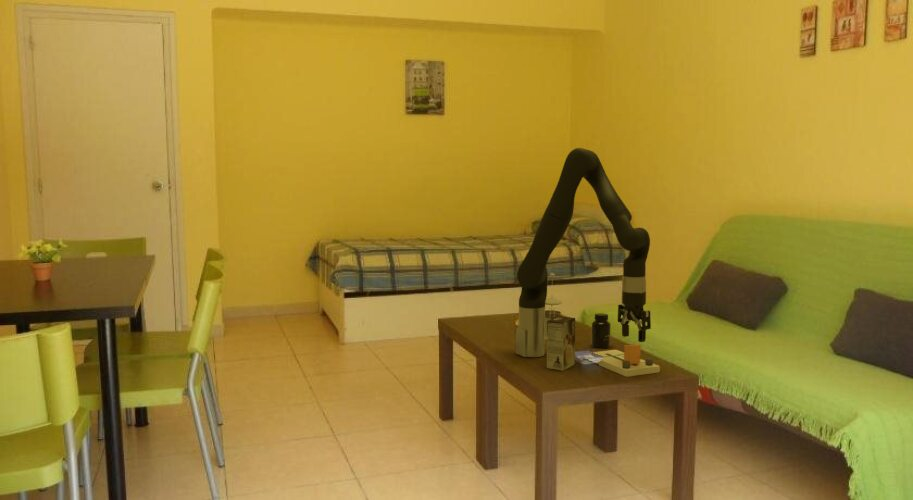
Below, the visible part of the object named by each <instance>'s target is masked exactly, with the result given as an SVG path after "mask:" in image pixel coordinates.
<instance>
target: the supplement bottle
mask: <svg viewBox="0 0 913 500" xmlns="http://www.w3.org/2000/svg"><path fill="white" fill-rule="evenodd" d="M608 320H609V314H607V313H603V312H602V313H601V312H600V313H599V312H598V313H597V312H596V313H594V320H593V321H592V323H591V336H590V337H591V338H590V339H591V342H590V343H591V347H592V348H596V349H607V348H609V347H610V346H611V323H610V322H609V321H608Z"/></svg>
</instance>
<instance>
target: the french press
mask: <svg viewBox="0 0 913 500" xmlns="http://www.w3.org/2000/svg"><path fill="white" fill-rule="evenodd" d="M549 276H550V277H551V284H553V283H554V281H553V279H554V277H555V273H553V272H550V273H549ZM561 304H563V301H562V300H561V299H558V298H557V297H553V296H551V297H546V301H545V306H546V305H548V306H558V305H561ZM555 309H556V308H555V307H553V309H551V308H549V310H546V309H545V340H547V321H548V320H551V319H553V318H555V317H558V316H561V317H563V316H562V315H561V314H562V311H559V310H555Z"/></svg>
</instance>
